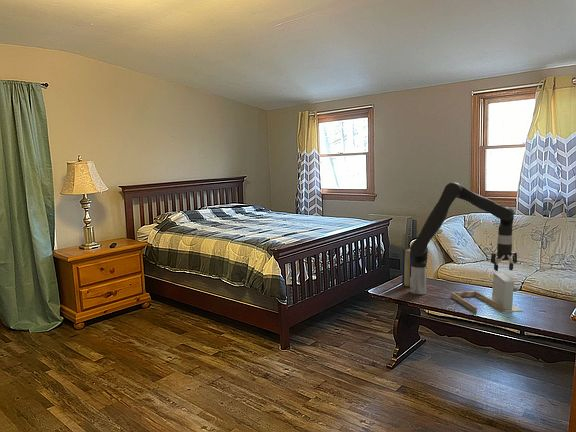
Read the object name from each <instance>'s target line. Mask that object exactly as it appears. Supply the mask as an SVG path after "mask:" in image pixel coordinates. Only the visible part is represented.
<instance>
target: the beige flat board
mask: <svg viewBox="0 0 576 432" xmlns="http://www.w3.org/2000/svg"><path fill="white" fill-rule="evenodd" d="M489 298H490V299H491V300H493V299H492V296H491V297H490V296H489ZM493 301H494V300H493ZM523 311H524V310H523V308H520V307H518V306H516V305H514V304H512V309H503V312H505V313H511V312H515V313H517V312H523Z"/></svg>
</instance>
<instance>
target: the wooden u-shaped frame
mask: <svg viewBox="0 0 576 432" xmlns="http://www.w3.org/2000/svg"><path fill="white" fill-rule="evenodd" d="M450 297H451V298H452V299H454V300H455V301H456V302H458V303H459V304H461V305H462V306H464V307H465V308H467V309H468V310H470V311H471V312H473V313H474V314H477V313H478V308H477V306H475V305H473V304H472V303H470V302H469V301H468V300H466V299H465V298H467V297H468V298H469V297H476V298H477V299H478V300H479V299H480V300H481V301H483V302H485V303H486V304H488V305H490V306H491V307H493V308H495V309H496V310H498V311H500V312H501V313H502V312H504V311H503V306H502V305H500V304H498V303H497V302H495V301H493V300H491V299H490V297H488V296H486V295H484V294H482V293H481V292H479V291H477V290H472V291H451V293H450Z"/></svg>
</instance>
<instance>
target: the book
mask: <svg viewBox="0 0 576 432" xmlns="http://www.w3.org/2000/svg"><path fill="white" fill-rule="evenodd" d="M412 258H413V255H412V254H411V251H410V247H408V248H404V249H402V274H401V275H402V277H401V281H402V282H401V284H402V286H404V287H410V277H411V262H412Z"/></svg>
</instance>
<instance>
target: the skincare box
mask: <svg viewBox="0 0 576 432" xmlns="http://www.w3.org/2000/svg"><path fill="white" fill-rule="evenodd" d="M492 280H493V281H492V290H491V292H492V293H491V297H492V299H493V300H494V301H495V302H497V303H498V304H500V305H502V306H503V309H512V304H513V301H514V287H515V281H513V280H512V279H511V278H509V277H508V276H507V275H506V274H504V273H503V272H493V279H492ZM513 305H514V304H513Z"/></svg>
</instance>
